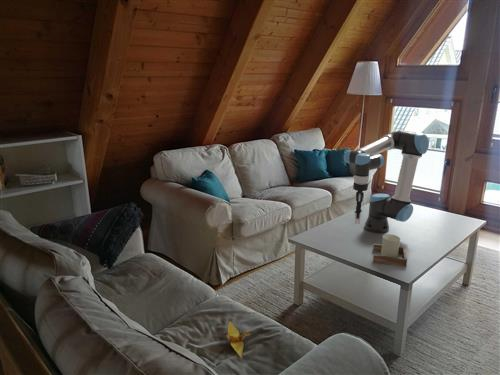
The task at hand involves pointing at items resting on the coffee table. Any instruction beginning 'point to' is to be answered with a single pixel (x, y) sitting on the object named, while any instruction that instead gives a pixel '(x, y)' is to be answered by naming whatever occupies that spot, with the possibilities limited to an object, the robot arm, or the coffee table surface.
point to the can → (390, 245)
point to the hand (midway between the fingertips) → (357, 223)
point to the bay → (390, 259)
